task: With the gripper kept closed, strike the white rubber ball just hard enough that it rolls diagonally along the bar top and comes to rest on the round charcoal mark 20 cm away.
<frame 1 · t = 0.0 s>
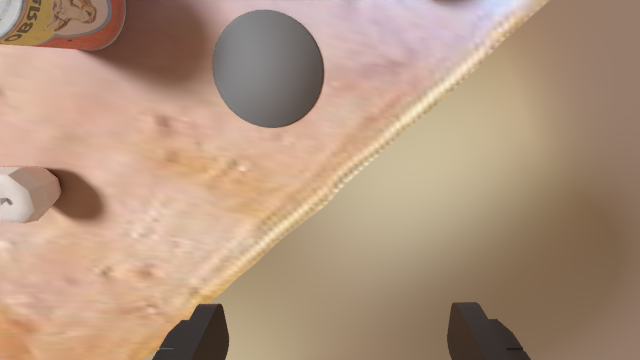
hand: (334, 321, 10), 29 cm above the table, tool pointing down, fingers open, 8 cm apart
apple: (48, 181, 42), on the table
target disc: (267, 72, 35), on the table
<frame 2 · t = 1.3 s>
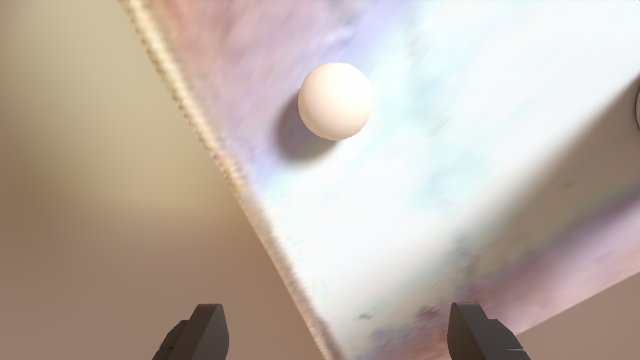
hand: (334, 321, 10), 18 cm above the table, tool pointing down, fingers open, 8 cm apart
ball: (335, 102, 22), on the table
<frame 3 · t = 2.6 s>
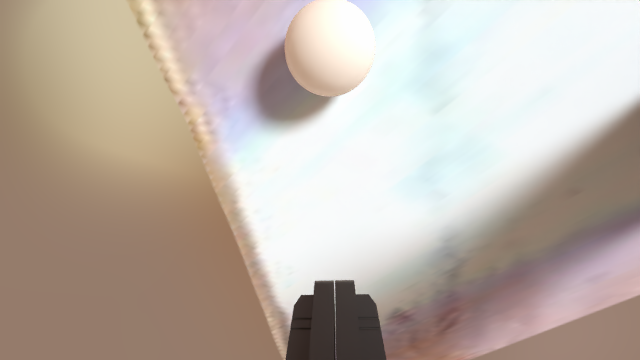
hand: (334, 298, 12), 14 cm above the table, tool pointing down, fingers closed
ball: (329, 50, 19), on the table
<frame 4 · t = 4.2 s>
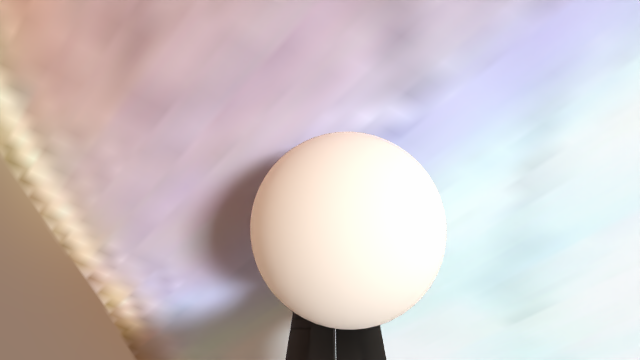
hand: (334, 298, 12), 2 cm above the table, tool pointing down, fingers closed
ball: (345, 225, 9), on the table
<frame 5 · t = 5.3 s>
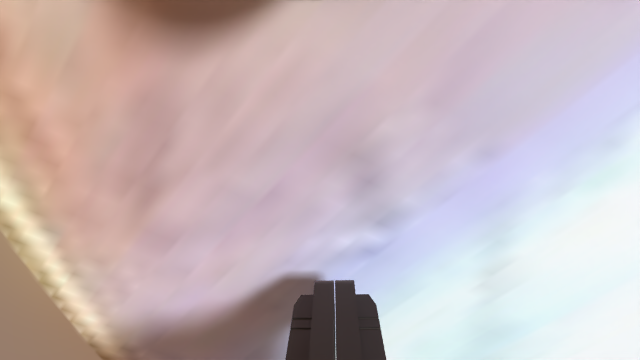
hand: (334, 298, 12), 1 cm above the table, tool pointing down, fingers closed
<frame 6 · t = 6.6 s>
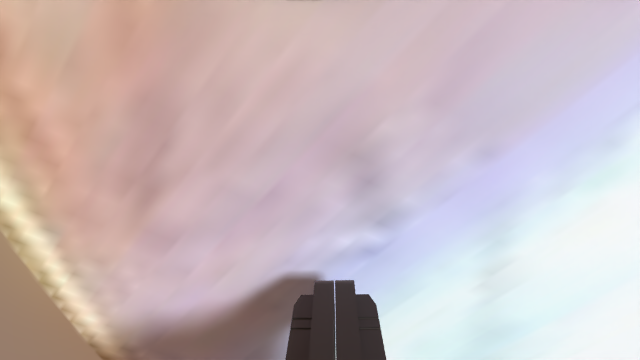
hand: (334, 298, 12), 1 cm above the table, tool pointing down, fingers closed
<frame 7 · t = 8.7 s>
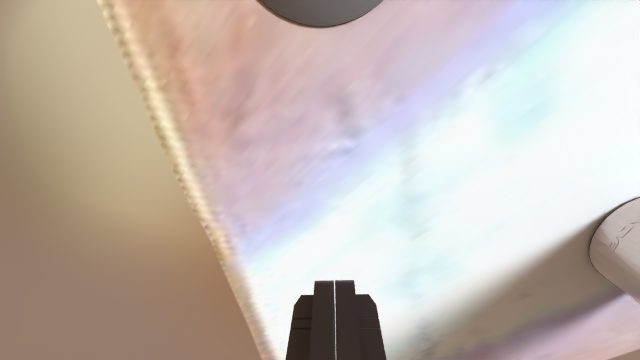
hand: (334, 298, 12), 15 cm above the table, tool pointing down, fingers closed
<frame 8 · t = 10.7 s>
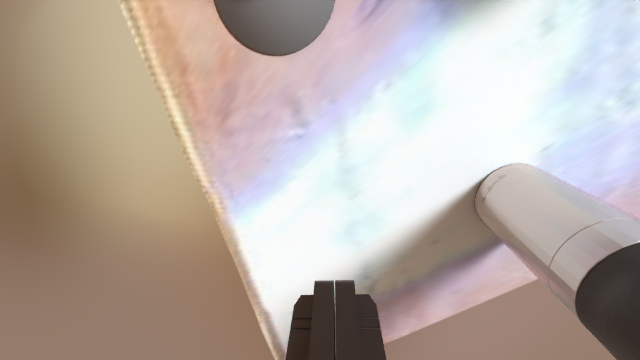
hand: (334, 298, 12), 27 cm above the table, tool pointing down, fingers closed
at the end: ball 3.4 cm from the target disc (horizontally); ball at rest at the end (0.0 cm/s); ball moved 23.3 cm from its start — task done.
